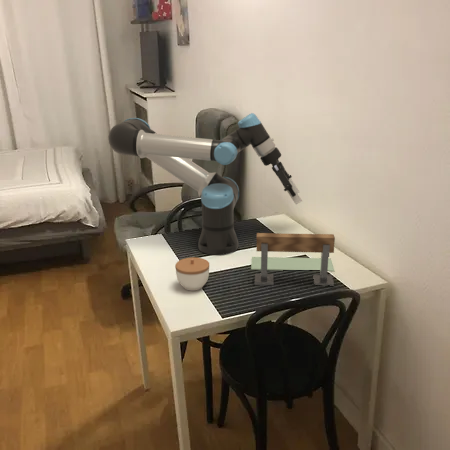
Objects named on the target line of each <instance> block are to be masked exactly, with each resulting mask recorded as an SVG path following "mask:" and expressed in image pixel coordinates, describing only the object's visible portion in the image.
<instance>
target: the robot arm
mask: <svg viewBox="0 0 450 450" xmlns="http://www.w3.org/2000/svg"><path fill="white" fill-rule="evenodd" d="M237 126H238V127H237V128H236V129H235V130H234V131H232V132H231V133H229V134H228V135H226V136H224V137H223V138H221V139H220V140H219V139H211V138H203V137H202V138H201V137H193V136H191V137H190V136H181V135H179V136H178V135H171V134H162V133H161V134H160V133H159V134H158V133H157V132H156V131H154V130H153V129H151V126H150V125H149V124H148V122H147V121H146V120H143V118H142V119H141V118H138V117H130V118H127V119H125V120H123V121H122V122H119V123H117V124H114V125H113V126H112V127H111V129H110V130H109V133H108V137H107V140H108V144H109V146H110V148H111V149H112V150H113V151H114V152H115V153H117V154H119V155H123V156H132V157H133V156H134V157H138V158H140V159H144V158H146V159H148V160H150V161H151V162H152V163H154V164H156V165H157V166H159V167H160V168H162V169H163V170H165V171H166V172H167V173H169V174H170V175H172V176H173V177H175V178H176V179H179V180H180V181H181V182H182V183H184V184H185V185H187V186H189V187H190V188H192V189H193V190H195V191H197V193H198V198H200V201H201V218H202V219H201V227H202V229H201V232H200V236H199V238H198V244H197V245H198V250H199V251H200V252H202V253H204V254H207V255H210V256H211V255H212V256H223V255H229V254H233V253H234V252H236V251H237V250H238V248H239V239H238V237H237V234H236V231H235V228H234V208H235V206H236V204H237V203H238V201H239V198H240V188H239V186H238V184H237V182H236V181H235V180H234V179H232V178H231V177H227V176H222V175H220V174H219V173H217V171H215V172H210V171H209V172H208V171H207V170H206V169H204V168H203V167H201V166H200V165H198V164H196V163H195V162H193V161H192V160H201V161H210V162H211V161H212V162H216V163H218V164H220V165H222V166H226V165H230V164H232V163H233V162H234V161H235V160H236V158H237V156H238V154H239V153H240V152H241V151H243V150H244V149H246V148H247V147H249V146H251V147H252V149H253V150H254V152H255V153H256V155H257V156H258V158H259V157H260V162H261V163H262V164H263V165H264V166H270V165H272V167H271V169H272V171H273V172H274V174H275V176H277V178H278V179H279V180H280V183H281V184H282V186H283V188H284V189H283V191H284V192H287V194H288V195H289V196H290V198H291V200H292V201H293V203H294V204H295V205H298V204H300V203H301V202H303V200H302V198H301V197H300V194H299V193H300V190H299V189H298V187H297V186H296V184H295V182H294V181H293V180H292V177H293V176H292V175H291V174H289V173H288V172H287V170H286V169H285V167H284V165H283V163H282V162H281V161H280V160H279V159H280V158H281V157H282V154H281V151H280V150H279V148H278V147H276V144H275V143H274V141H275V140H274V138H271V136H270V134H269V133H268V131H267V129H266V128H265V127H264V125H263V123H262V122H261V120H260V119H259V117H258V116H257V115H256V114H255V113H253V112H251V113H249V114H247V115H246V116H245V117H243V118H242V119H240V120H239V121H238V122H237ZM191 159H192V160H191Z"/></svg>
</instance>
